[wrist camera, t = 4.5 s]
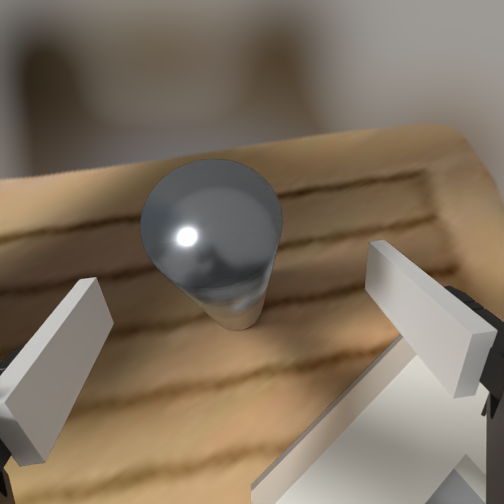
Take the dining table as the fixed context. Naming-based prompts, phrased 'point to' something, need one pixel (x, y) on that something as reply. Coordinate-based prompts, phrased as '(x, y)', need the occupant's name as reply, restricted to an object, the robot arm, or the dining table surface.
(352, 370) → the dining table surface
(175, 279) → the pin
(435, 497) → the hole block
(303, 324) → the dining table surface
